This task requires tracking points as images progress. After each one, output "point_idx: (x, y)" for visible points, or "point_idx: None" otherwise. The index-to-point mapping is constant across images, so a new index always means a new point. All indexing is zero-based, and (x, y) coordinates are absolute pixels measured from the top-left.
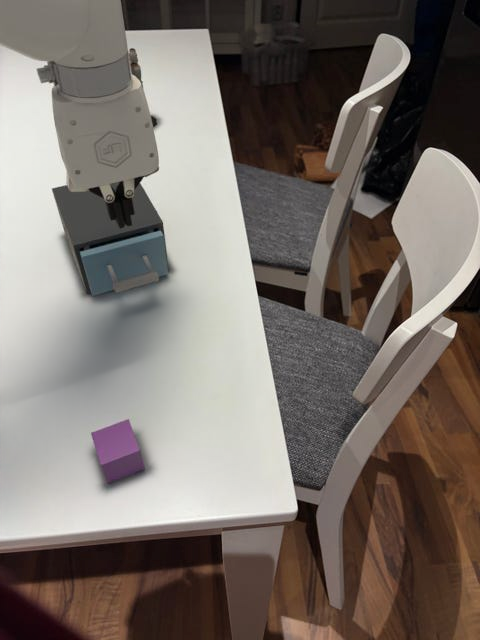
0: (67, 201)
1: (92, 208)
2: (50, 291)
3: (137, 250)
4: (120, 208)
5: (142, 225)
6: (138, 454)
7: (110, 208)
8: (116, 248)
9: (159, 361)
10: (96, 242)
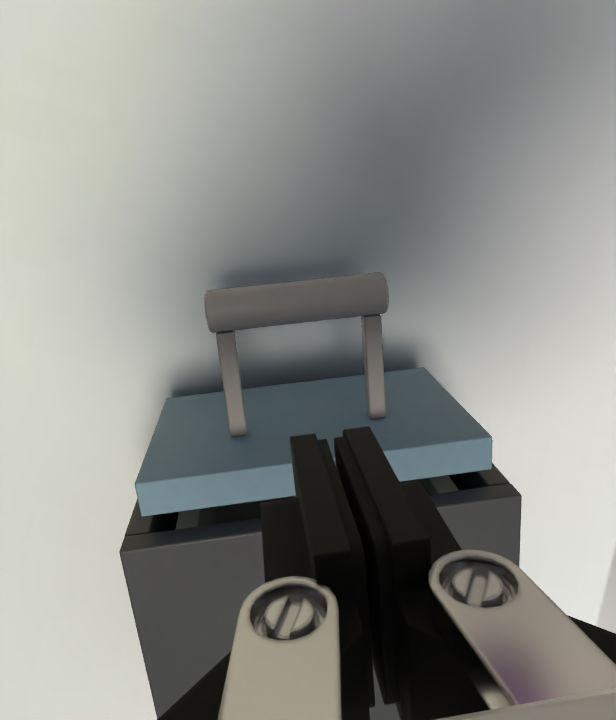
0: None
1: None
2: (525, 433)
3: (260, 447)
4: (371, 510)
5: (216, 549)
6: None
7: (438, 533)
8: None
9: (275, 14)
10: None
